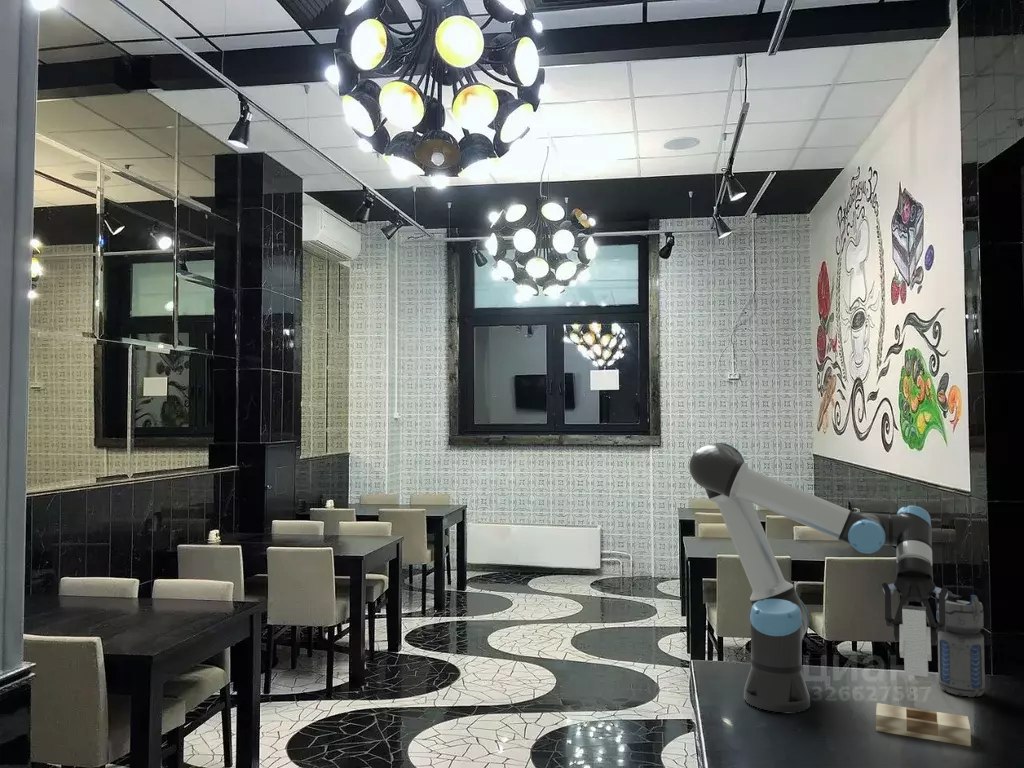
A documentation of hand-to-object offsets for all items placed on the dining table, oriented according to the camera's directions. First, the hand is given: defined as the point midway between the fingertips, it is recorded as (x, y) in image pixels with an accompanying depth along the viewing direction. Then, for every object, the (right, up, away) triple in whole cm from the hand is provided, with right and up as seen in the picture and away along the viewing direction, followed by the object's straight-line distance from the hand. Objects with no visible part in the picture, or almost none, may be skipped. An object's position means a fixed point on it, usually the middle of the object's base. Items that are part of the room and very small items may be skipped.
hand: (915, 655), depth 169 cm
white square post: (+2, -5, +3) cm, 6 cm away
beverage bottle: (+26, -19, +30) cm, 45 cm away
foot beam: (+3, -18, +4) cm, 19 cm away
